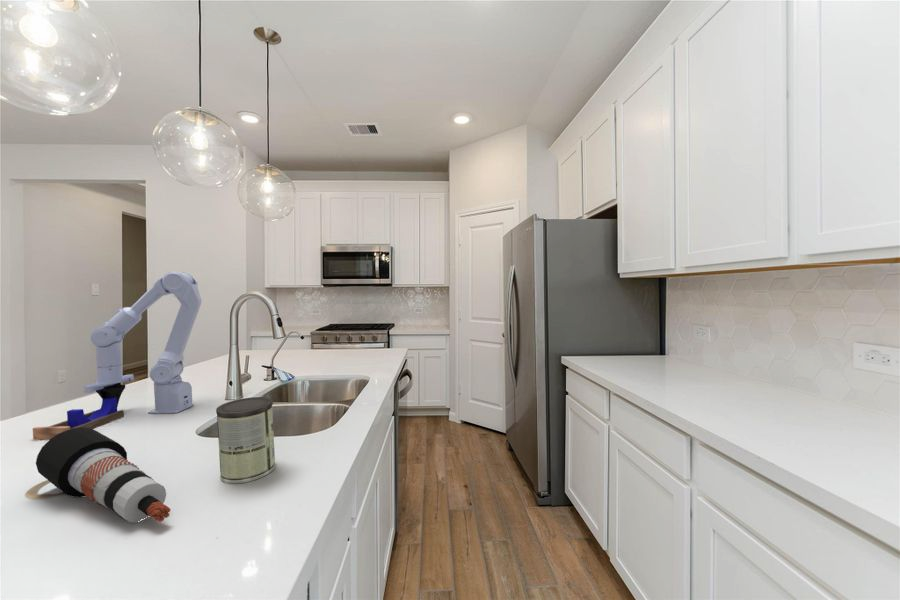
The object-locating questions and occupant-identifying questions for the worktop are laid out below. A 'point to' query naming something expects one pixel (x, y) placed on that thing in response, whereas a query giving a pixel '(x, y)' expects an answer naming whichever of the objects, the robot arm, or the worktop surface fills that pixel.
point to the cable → (101, 474)
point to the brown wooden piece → (53, 430)
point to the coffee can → (245, 439)
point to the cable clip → (79, 418)
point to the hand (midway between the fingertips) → (112, 409)
